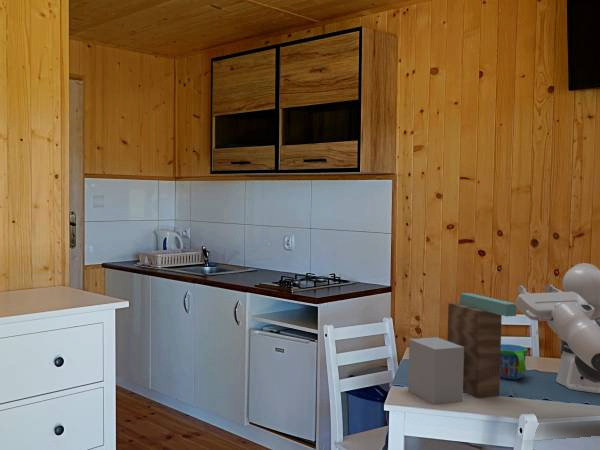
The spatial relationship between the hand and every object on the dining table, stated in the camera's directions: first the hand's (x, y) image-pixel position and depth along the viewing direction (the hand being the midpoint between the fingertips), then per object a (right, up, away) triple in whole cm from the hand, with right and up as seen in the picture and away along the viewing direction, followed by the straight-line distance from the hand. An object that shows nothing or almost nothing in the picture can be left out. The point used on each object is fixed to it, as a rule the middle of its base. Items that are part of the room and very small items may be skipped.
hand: (533, 286), depth 177 cm
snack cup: (+5, -34, +36) cm, 50 cm away
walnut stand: (-12, -34, +21) cm, 42 cm away
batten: (-9, -8, +14) cm, 19 cm away
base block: (-25, -34, +13) cm, 44 cm away
